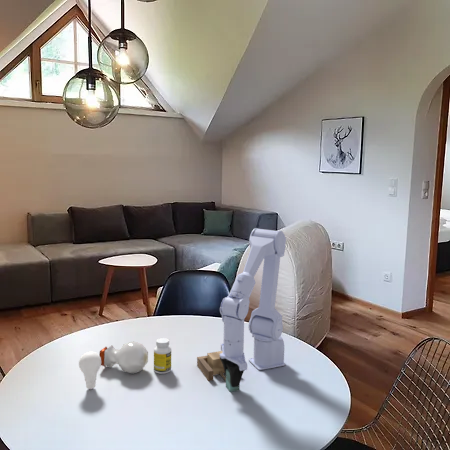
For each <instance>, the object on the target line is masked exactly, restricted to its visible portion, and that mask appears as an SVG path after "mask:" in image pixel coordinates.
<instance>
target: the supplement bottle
mask: <svg viewBox="0 0 450 450" xmlns="http://www.w3.org/2000/svg"><path fill="white" fill-rule="evenodd" d="M155 345H156V346H154V348H153V372H155V373H156V374H160V375H164V374H165V375H166V374H169V373H170V372H171V371H172V347H171V346H170V339H168V338H166V337H161V338H157V339H156V341H155Z"/></svg>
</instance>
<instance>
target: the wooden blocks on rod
mask: <svg viewBox="0 0 450 450" xmlns="http://www.w3.org/2000/svg"><path fill="white" fill-rule="evenodd" d="M221 353H222V351H221V350H220V351H219V350H218V351H213V352H207V355H206V356H207V364H208V365H209V366H210V367H211V368H212V370H213V376H216V375H220V377H222V378H223V380H224V381H225V388H226V389H227V390H228V392H231V393H232V392H236V391H240V386H241V385H240V384H241V383H240V384H239V386H237V387H232V386H231V380H230V373H229V370H228V369H226V375H225V371H224V367H223V364H222V362H221V360H220V354H221Z"/></svg>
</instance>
